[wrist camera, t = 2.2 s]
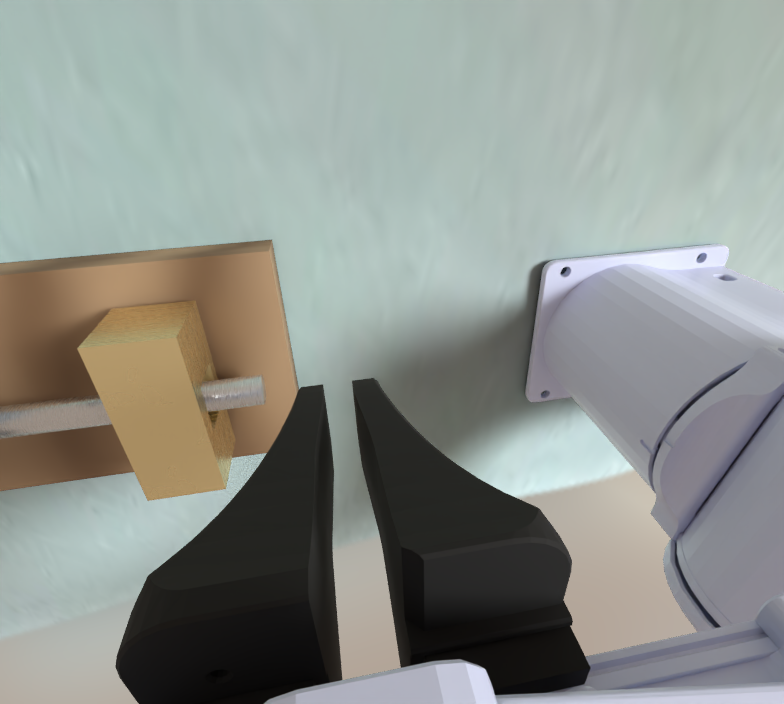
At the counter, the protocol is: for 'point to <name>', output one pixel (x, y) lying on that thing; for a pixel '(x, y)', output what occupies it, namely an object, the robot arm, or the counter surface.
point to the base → (89, 307)
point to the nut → (161, 397)
